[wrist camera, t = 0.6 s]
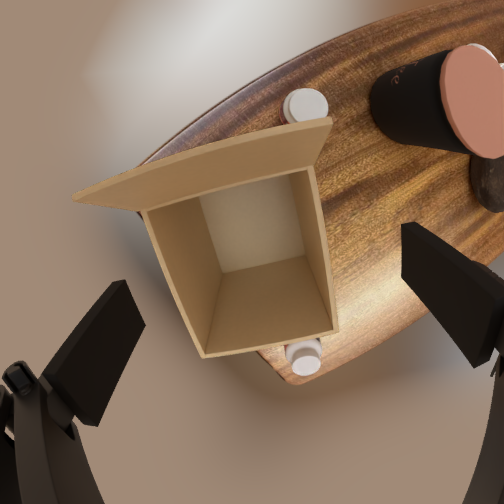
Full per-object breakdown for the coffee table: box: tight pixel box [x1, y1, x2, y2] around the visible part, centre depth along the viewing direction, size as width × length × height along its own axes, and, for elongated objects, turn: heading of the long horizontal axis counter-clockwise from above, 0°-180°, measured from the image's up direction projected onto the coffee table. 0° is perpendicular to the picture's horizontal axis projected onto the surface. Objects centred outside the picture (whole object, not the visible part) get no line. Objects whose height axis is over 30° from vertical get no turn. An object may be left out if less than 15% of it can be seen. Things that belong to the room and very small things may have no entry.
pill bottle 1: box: [279, 88, 328, 125], centre depth 29 cm, size 5×5×8 cm
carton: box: [140, 165, 339, 358], centre depth 30 cm, size 15×13×18 cm
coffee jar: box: [370, 45, 504, 159], centre depth 24 cm, size 11×11×18 cm
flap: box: [72, 117, 333, 211], centre depth 15 cm, size 7×13×1 cm
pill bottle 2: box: [284, 338, 322, 376], centre depth 41 cm, size 5×5×10 cm
